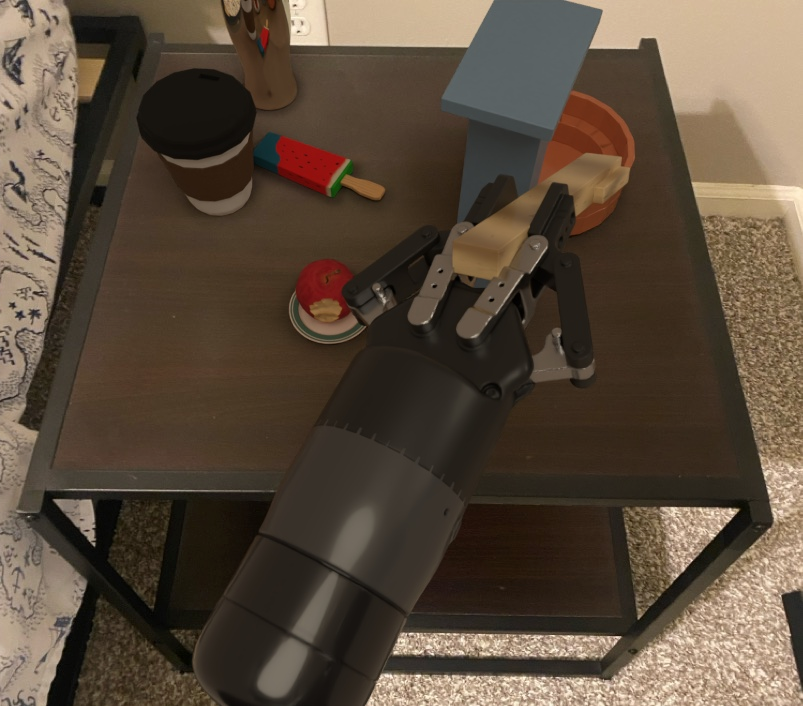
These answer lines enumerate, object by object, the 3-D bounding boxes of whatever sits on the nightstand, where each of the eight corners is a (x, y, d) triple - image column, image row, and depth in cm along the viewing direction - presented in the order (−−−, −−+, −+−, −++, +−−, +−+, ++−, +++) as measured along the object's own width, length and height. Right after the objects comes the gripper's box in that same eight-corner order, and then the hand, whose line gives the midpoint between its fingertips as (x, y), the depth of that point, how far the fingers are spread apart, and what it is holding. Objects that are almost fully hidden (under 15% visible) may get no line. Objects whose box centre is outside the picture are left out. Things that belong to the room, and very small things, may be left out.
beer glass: (310, 79, 84) (295, -45, 71) (287, 119, 81) (267, -4, 68) (255, 67, 85) (231, -58, 72) (231, 105, 82) (201, -18, 69)
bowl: (616, 137, 80) (631, 94, 75) (620, 248, 72) (638, 208, 67) (476, 124, 81) (481, 80, 76) (465, 232, 73) (471, 192, 68)
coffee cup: (193, 147, 79) (162, 54, 68) (287, 167, 77) (270, 75, 67) (152, 222, 73) (111, 133, 63) (251, 244, 72) (227, 157, 62)
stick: (509, 284, 33) (511, 252, 32) (441, 270, 34) (440, 238, 33) (628, 182, 46) (631, 157, 45) (574, 175, 47) (576, 151, 46)
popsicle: (372, 204, 73) (248, 155, 76) (372, 214, 74) (250, 165, 77) (392, 175, 75) (270, 128, 78) (392, 185, 76) (272, 138, 79)
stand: (499, 363, 66) (562, 132, 41) (418, 335, 67) (432, 95, 43) (536, 266, 71) (610, 11, 47) (460, 242, 72) (495, -18, 48)
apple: (389, 317, 68) (389, 277, 62) (320, 361, 65) (313, 324, 60) (341, 263, 71) (337, 220, 65) (273, 303, 69) (262, 262, 63)
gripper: (518, 503, 24) (673, 151, 31) (224, 391, 31) (403, 120, 38) (545, 567, 30) (670, 260, 37) (294, 462, 37) (438, 217, 44)
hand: (535, 191), depth 37 cm, fingers closed on stick, 2 cm apart
